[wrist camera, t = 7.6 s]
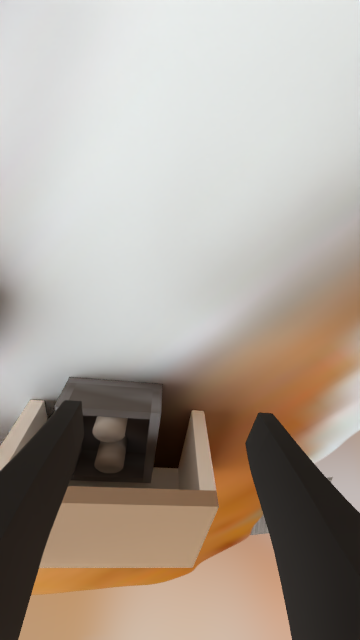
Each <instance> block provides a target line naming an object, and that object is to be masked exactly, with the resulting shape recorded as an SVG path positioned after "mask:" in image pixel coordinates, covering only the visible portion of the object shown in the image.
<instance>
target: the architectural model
mask: <svg viewBox="0 0 360 640" xmlns="http://www.w3.org/2000/svg"><path fill="white" fill-rule="evenodd" d="M332 478H333V477H328V478H327V479H328V480H329V481H330V482H331V481H332ZM266 533H269V530H268V527H267V524H266V521H265V517H264V514H263V515H262V517H261V518H260V519H259V521H258V522H257V523H256V524H255V525H254V527H253V528H252V531H251V534H250V535H257V534H266Z"/></svg>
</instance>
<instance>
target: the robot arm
mask: <svg viewBox="0 0 360 640" xmlns="http://www.w3.org/2000/svg"><path fill="white" fill-rule="evenodd" d="M83 438H84V424H83V412H82V401H72V400H65V401H63V402H62V403H61V405H60V406H59V407H58V408H57V410H56V411H55V412H54V413H53V414H52V415H51V417H50V418H49V419H48V420H47V421H46V422H45V424H44V425H43V426H42V427H41V428H40V429H39V430H38V432H37V433H36V434H35V435H34V436H33V437H32V438H31V439H30V440H29V441H28V442H27V443H26V445H25V446H24V447H23V448H22V449H21V450H20V451H19V452H18V453H17V454H16V455H15V456H14V457H13V458H12V459H11V460H10V461H9V462H8V463H7V464H6V465H5V466H4V467H3V468H2V469H1V470H0V640H18V638H19V635H20V631H21V627H22V624H23V620H24V617H25V614H26V610H27V607H28V603H29V600H30V596H31V593H32V589H33V586H34V583H35V579H36V576H37V573H38V569H39V566H40V563H41V559H42V556H43V553H44V549H45V546H46V543H47V541H48V538H49V535H50V532H51V529H52V527H53V524H54V521H55V519H56V516H57V514H58V511H59V508H60V506H61V503H62V501H63V498H64V495H65V493H66V490H67V487H68V485H69V482H70V480H71V477H72V474H73V472H74V469H75V466H76V464H77V460H78V457H79V453H80V450H81V446H82V442H83ZM246 449H247V455H248V460H249V465H250V470H251V474H252V477H253V481H254V484H255V487H256V491H257V494H258V497H259V501H260V504H261V507H262V511H263V514H264V517H265V521H266V524H267V527H268V530H269V534H270V537H271V541H272V545H273V549H274V552H275V557H276V562H277V566H278V571H279V576H280V580H281V585H282V590H283V595H284V599H285V605H286V610H287V614H288V620H289V625H290V631H291V636H292V640H360V513H359V512H358V511H357V510H356V509H355V508H354V507H353V506H352V505H351V504H350V503H349V502H348V501H347V500H346V499H345V498H344V497H343V495H342V494H341V493H340V492H339V491H338V490H337V489H336V488H335V487H334V486H333V485H332V484H331V482H330V481H329V480H328V479H327V478H326V477H325V476H324V475H323V474H322V472H320V470H319V469H318V468H317V467H316V466H315V464H314V463H313V462H312V461H311V460H310V459H309V457H308V456H307V455H306V454H305V453H304V451H303V450H302V449H301V448H300V447H299V445H298V444H297V443H296V442H295V441H294V439H293V438H292V437H291V436H290V434H289V433H288V432H287V431H286V430H285V428H284V427H283V426H282V425H281V423H280V422H279V421H278V420H277V418H276V417H275V416H274V415H273V414H271V413H258V415H257V417H256V420H255V422H254V424H253V427H252V429H251V431H250V434H249V436H248V439H247V441H246Z"/></svg>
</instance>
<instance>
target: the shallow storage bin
mask: <svg viewBox="0 0 360 640" xmlns="http://www.w3.org/2000/svg"><path fill="white" fill-rule="evenodd" d="M47 420H48V419H47V413H46V408H45V403H44V401H42V400H30V401H29V402H28V404H27V405H26V407H25V409H24V410H23V412H22V413H21V415H20V416H19V418H18V419H17V421H16V423H15V424H14V426H13V427H12V429H11V430H10V432H9V433H8V435H7V437H6V438H5V440H4V441H3V443H2V444H1V446H0V470H1V469H2V468H3V467H4V466H5V465H6V464H7V463H8V462H9V461H10V460H11V459H12V458H13V457H14V456H15V455H16V454H17V453H18V452H19V451H20V450H21V449H22V448H23V447H24V446H25V445H26V443H27V442H28V441H29V440H30V439H31V438H32V437H33V436H34V435H35V434H36V433H37V432H38V430H39V429H40V428H41V427H42V426H43V425H44V424H45V422H46V421H47ZM218 507H219V505H218V499H217V492H216V486H215V479H214V473H213V466H212V460H211V453H210V447H209V440H208V434H207V427H206V421H205V414H204V411H197V410H192V412H191V416H190V420H189V424H188V429H187V433H186V437H185V442H184V446H183V450H182V454H181V459H180V463H179V467H178V468H156V467H153V472H152V478H151V483H132V482H104V481H76V480H70V482H69V485H68V487H67V490H66V493H65V495H64V498H63V501H62V503H61V506H60V508H59V511H58V514H57V516H56V519H55V521H54V524H53V527H52V529H51V532H50V535H49V538H48V541H47V543H46V546H45V549H44V553H43V556H42V559H41V563H40V566H39V568H193V565H194V563H195V561H196V558H197V556H198V554H199V551H200V549H201V547H202V545H203V542H204V540H205V538H206V535H207V533H208V531H209V528H210V526H211V524H212V521H213V519H214V517H215V514H216V512H217V510H218Z"/></svg>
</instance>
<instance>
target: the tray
mask: <svg viewBox="0 0 360 640" xmlns="http://www.w3.org/2000/svg"><path fill="white" fill-rule="evenodd" d="M65 400H72V401H82V412H83V424H84V438H83V442H82V446H81V450H80V453H79V457H78V460H77V464H76V466H75V469H74V472H73V474H72V477H71V480H76V481H104V482H132V483H151V478H152V472H153V465H154V458H155V452H156V445H157V438H158V431H159V425H160V418H161V405H162V384H153V383H140V382H127V381H114V380H101V379H88V378H74V377H69V379H68V381H67V383H66V385H65V387H64V388H63V390H62V392H61V394H60V396H59V398H58V400H57V402H56V404H55V406H54V408H55V411H56V410H57V408H58V407H59V406H60V405H61V403H62V402H63V401H65Z"/></svg>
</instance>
